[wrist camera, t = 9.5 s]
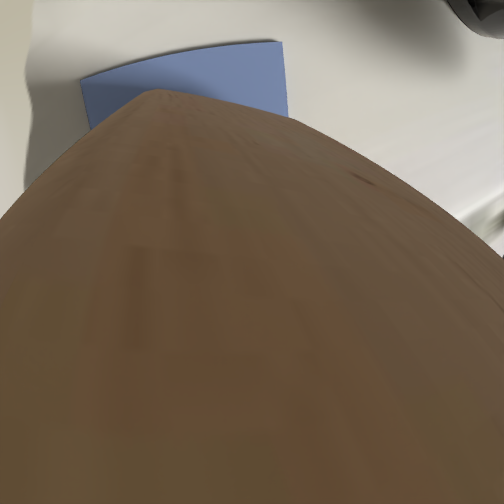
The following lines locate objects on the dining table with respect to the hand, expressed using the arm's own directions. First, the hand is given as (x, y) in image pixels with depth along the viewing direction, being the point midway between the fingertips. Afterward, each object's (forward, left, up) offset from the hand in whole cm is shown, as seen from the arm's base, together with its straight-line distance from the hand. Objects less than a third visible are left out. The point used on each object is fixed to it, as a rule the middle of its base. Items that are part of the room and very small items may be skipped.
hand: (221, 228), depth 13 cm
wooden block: (0, 0, -7) cm, 7 cm away
